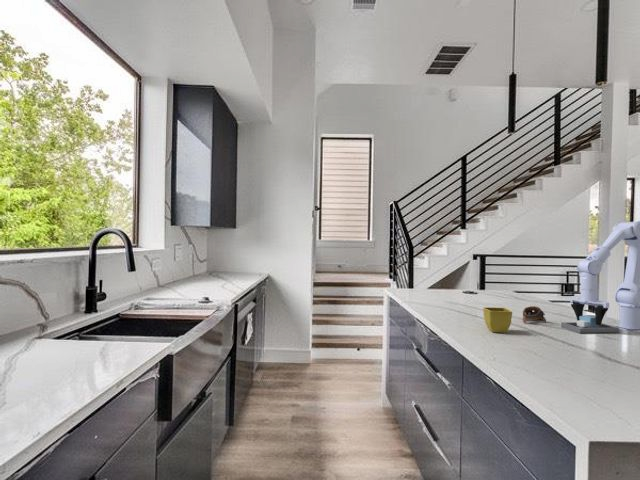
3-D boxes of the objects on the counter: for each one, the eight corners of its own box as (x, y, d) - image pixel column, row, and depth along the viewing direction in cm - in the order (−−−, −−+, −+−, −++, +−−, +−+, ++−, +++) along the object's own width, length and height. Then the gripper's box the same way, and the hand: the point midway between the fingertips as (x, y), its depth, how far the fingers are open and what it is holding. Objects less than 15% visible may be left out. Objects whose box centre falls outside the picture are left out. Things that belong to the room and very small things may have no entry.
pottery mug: (552, 325, 175) (548, 310, 173) (533, 335, 175) (528, 320, 173) (535, 313, 187) (530, 299, 184) (516, 322, 187) (511, 308, 184)
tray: (597, 326, 170) (597, 321, 170) (618, 333, 158) (618, 328, 158) (561, 327, 169) (561, 322, 169) (580, 333, 158) (580, 328, 158)
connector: (590, 326, 168) (590, 314, 168) (601, 328, 164) (601, 316, 164) (575, 328, 164) (575, 316, 164) (585, 331, 160) (585, 318, 160)
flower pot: (504, 329, 166) (504, 307, 166) (512, 334, 157) (512, 311, 157) (482, 328, 167) (482, 307, 167) (489, 333, 158) (489, 310, 158)
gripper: (565, 287, 169) (565, 320, 169) (600, 292, 156) (600, 327, 156) (576, 287, 172) (576, 319, 172) (612, 291, 158) (612, 325, 158)
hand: (589, 322), depth 164 cm, fingers open, 7 cm apart
